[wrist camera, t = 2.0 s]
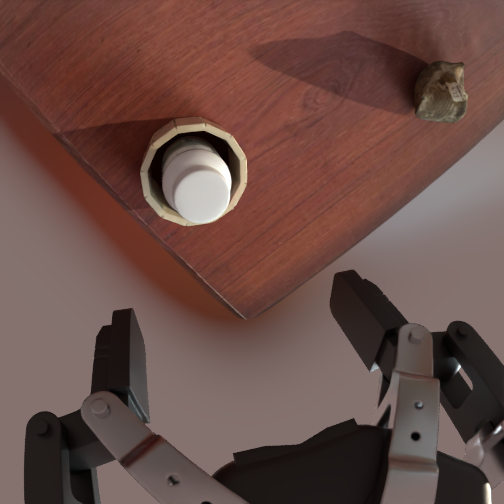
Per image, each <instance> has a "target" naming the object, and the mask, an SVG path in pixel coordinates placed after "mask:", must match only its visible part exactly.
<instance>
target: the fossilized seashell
mask: <svg viewBox="0 0 504 504" xmlns="http://www.w3.org/2000/svg"><path fill="white" fill-rule="evenodd" d="M463 68H465V65H464V63H463V62H460V63H449V62H444V61H436V62H433V63H432V64H431V65H430V66H429V67H427V68H425V69H424V70H423V71H422V72H421V73H420V74H419V76H418V78H417V81H416V85H415V91H414V97H415V114H416V116H417V117H418V118H420V119H423V120H429V121H436V122H447V123H455V122H457V121H459V120H460V119H461V118H462V117H464V115H465V113H466V110H467V98H468V93H467V92H466V91H464V73H463Z"/></svg>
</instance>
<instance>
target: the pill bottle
mask: <svg viewBox="0 0 504 504" xmlns="http://www.w3.org/2000/svg"><path fill="white" fill-rule="evenodd" d="M162 187H163V193H164V196H165V198H166V200H167V202H168V203H169V204H170V206H171V207H172V208H173V209H175V210H176V211H177V212H178V213H179V214H180V215H181V216H182V217H183V218H184V219H186V220H188V221H190V222H193V223H207V222H210V221H213V220H215V219H216V218H218V217H219V216H221V215H222V214H223V212H224V211H225V210H226V208H227V206H228V204H229V200H230V189H231V176H230V172H229V169H228V167H227V165H226V164H225V162H224V161H223V160H222V158H221V157H220V156H219V154H218V153H217V152H216V150H215V149H214V147H213V146H212V145H211V144H210V143H209V142H208V141H206V140H205V139H203V138H200V137H196V136H186V137H182V138H179V139H177V140H175V141H174V142H173V143H172V144H170V146H169V147H168V148H167V149H166V151H165V153H164V156H163V160H162Z"/></svg>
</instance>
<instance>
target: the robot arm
mask: <svg viewBox="0 0 504 504" xmlns="http://www.w3.org/2000/svg"><path fill="white" fill-rule="evenodd" d="M330 309H331V313H332V315H333V317H334V318H335V320H336V321H337V323H338V324H339V326H340V327H341V329H342V330H343V332H344V333H345V335H346V336H347V338H348V339H349V341H350V342H351V344H352V345H353V347H354V349H355V350H356V352H357V353H358V355H359V356H360V358H361V359H362V361H363V362H364V364H365V365H366V367H367V368H368V370H369V372H371V371H373V370H376V369H379V368H380V370H381V371H382V373H381V375H380V380H379V386H378V392H377V398H376V404H375V409H374V414H373V417H372V420H371V422H370V425H357V423H356V421H355V419H354V418H353V419H350V420H348V421H345V422H342V423H339V424H336V425H333V426H331V427H328V428H326V429H324V430H323V431H321V432H319V433H318V434H316V435H314V436H313V437H311V438H309V439H308V440H306V441H304V442H303V443H301V444H297V445H284V446H283V445H281V446H263V447H259V448H255V449H250V450H246V451H241V452H237V453H233V456H234V461H232V462H230V463H228V464H226V465H224V466H223V467H221V468H220V469H219V470H217V471H216V472H215V473H214V474H213V475H212V476H209V474H207V473H206V472H205V471H203V470H202V469H201V468H199V467H198V466H197V465H196V464H194V463H193V462H192V461H191V460H189V459H188V458H187V457H186V456H184V455H183V454H182V453H181V452H179V451H178V450H177V449H176V448H175V447H173V446H172V445H171V444H170V443H169V442H168V441H167V440H165V439H164V438H163V437H162V436H160V435H156V434H155V433H153V432H152V431H151V430H150V429H149V428H148V427H147V426H146V425H145V423H150V417H149V405H148V392H147V377H146V376H147V375H146V353H145V345H144V340H143V336H142V334H141V331H140V328H139V325H138V322H137V319H136V316H135V313H134V310H133V309H132V308H129V309H122V310H116V311H113V316H112V325H107V326H103V327H102V328H101V330H100V331H99V333H98V335H97V336H96V345H95V354H94V358H95V359H94V363H93V373H92V385H91V394H90V395H89V396H88V397H87V398H86V399H85V400H84V402H83V404H82V407H81V409H79V410H77V411H75V412H73V413H70V414H68V415H65V416H62V417H59V418H58V417H57V416H56V415H55V414H53V413H51V412H47V411H44V412H39V413H37V414H35V415H34V416H33V417H32V418H31V419H30V420H29V422H28V424H27V427H26V438H25V455H24V500H25V504H101V502H100V495H99V488H98V479H97V470H96V467H97V466H100V465H103V464H106V463H108V462H111V461H113V460H116V459H117V460H118V461H119V463H120V464H121V465H122V466H123V467H124V469H125V470H126V471H127V472H128V473H129V474H130V475H131V476H132V477H133V478H134V479H135V480H136V481H137V482H138V483H139V484H140V485H141V486H142V487H143V488H144V489H145V490H146V491H147V492H148V493H149V494H151V495H152V496H153V497H154V498H155V499H156V500H157V501H158V502H159V503H160V504H491V490H492V489H493V488H495V487H496V486H497V485H498V484H500V483H501V482H502V481H503V480H504V365H503V364H502V363H501V362H500V360H499V359H498V358H497V356H496V355H495V354H494V353H493V351H492V350H491V349H490V348H489V346H488V345H487V344H486V343H485V342H484V340H483V339H482V338H481V337H480V336H479V334H478V333H477V332H476V331H475V330H474V329H473V327H471V326H470V325H469V324H467V323H465V322H463V321H454V322H452V323H450V324H449V326H448V328H447V330H446V331H444V332H430V331H429V330H428V329H426V328H425V327H424V326H422V325H420V324H416V323H409V322H408V321H407V320H406V319H405V318H404V316H403V315H402V314H401V313H400V312H399V311H398V310H397V308H396V307H395V306H394V305H393V304H392V303H391V301H389V300H388V298H387V297H386V296H385V295H383V292H382V291H381V290H380V289H379V288H378V287H377V286H376V285H375V284H373V283H372V282H370V281H368V280H367V279H362V278H361V277H360V276H359V275H358V274H357V272H356V271H355V270H348V271H343V272H338V273H336V274H335V275H334V280H333V286H332V292H331V298H330ZM460 367H462V368H463V370H464V371H465V373H466V374H467V375H468V377H469V378H470V380H471V381H472V384H473V390H471V389H470V388H469V386H468V385H467V383H466V382H465V380H464V379H463V377H462V376H461V375H460V373H459V372H458V370H459V368H460ZM440 403H441V404H442V406H443V407H444V409H445V411H446V412H447V414H448V415H449V417H450V419H451V420H452V422H453V424H454V425H455V427H456V429H457V430H458V432H459V434H460V435H461V437H462V439H463V441H464V442H465V444H466V448H465V453H466V455H465V456H464V461H463V460H460V459H458V458H455V457H452V456H450V455H447V454H445V453H442V452H440V451H437V443H438V430H439V409H440V408H439V407H440Z"/></svg>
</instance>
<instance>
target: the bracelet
mask: <svg viewBox="0 0 504 504" xmlns="http://www.w3.org/2000/svg"><path fill="white" fill-rule="evenodd" d="M195 131H206V132H209V133H211V134H213V135H215V136H218V137H220V138H222V139H223V141H224V142H225V144H226V145H227V146H228V154H229V168H228V169H229V172H230V176H231V189H230V200H229V204H228V206H227V208H226V210H225V211H224V212H223V214H222V215H221V216H223V215H224V214H226V213H227V212H229V211H230V210H231V209H233V208H234V207H233V206H236V204H237V202H238V200H239V198H240V196H241V195H242V193H243V191H244V189H245V187H246V183H247V159H246V158H245V157H246V156H245V154H244V153H243V151H242V150H241V148H240V147H239V145H238V144H237V142H236V141H235V139H234V138H233V136H232V135H231V134H229V133H228V132H227V131H226V130H225V129H224V128H222V127H221V126H220V125H218V124H216V123H213V122H211V121H209V120H207V119H204V118H202V117H198V116H195V117H186V118H177V119H175V122H174V120H172V121H170V122H169V123H167V124H166V125H165V126H163V127H162V128H161V129H159V130H158V131H156V132H155V133H154V135H152V137H151V140H150V142H149V144H148V147H147V149H146V151H145V153H144V156H143V161H142V165H141V171H140V176H141V182H142V189H143V195H144V197H145V200H146V201H147V202H148V203H149V204H150V205H151V207H152V208H153V209H154V210H155V211H156V212H157V214H158V215H159V216H160V217H161V216H162V218H164V219H166V220H169V221H172V222H175V223H178V224H181V225H184V226H185V225H186V224H187V226H192V225H199V224H206V223H193V222H190V221H188V220H186V219H184V218H183V217H182V216H181V215H180V214H179V213H178V212H177V211H176V210H175V209H173V208H172V207H171V206H170V204H169V203H168V202H167V200H166V198H165V196H164V193H163V190H162V189H161V188H160V186H159V185H158V184H157V183H156V181H155V180H154V179H153V178H152V173H151V165H150V164H151V162H152V159H153V157H154V155H155V153H156V150H157V149H158V148H159V147H160V146H162V145H163V144H164V143H166V142H167V141H168V140H170V139H171V138H172V137H174V136H175V135H177V134H178V133H186V132H195ZM221 216H219V217H218V218H220V217H221ZM218 218H216V219H215V220H213V222H214V221H216V220H217V219H218ZM211 222H212V221H210V222H207V223H211Z"/></svg>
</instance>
